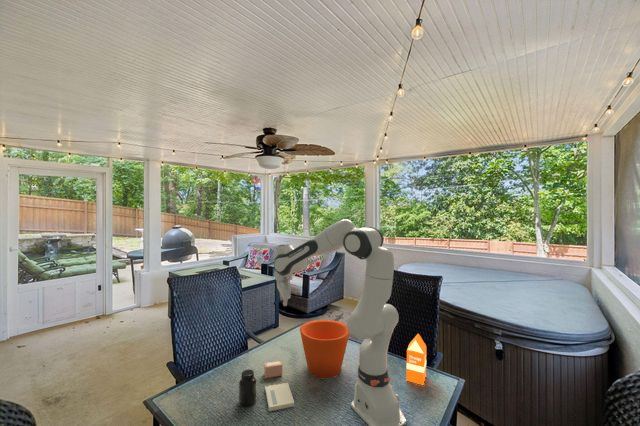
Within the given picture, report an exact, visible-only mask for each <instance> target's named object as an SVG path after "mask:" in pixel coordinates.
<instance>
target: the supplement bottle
mask: <svg viewBox="0 0 640 426" xmlns="http://www.w3.org/2000/svg"><path fill="white" fill-rule="evenodd" d="M254 374H255V373H254V370H253V369H245V370H242V372H241V378H240V380H239V381H238V404H239V406H241V407H242V408H249V407H252V406H254V405H255V404H256V402H257V379H256V377H255V375H254Z"/></svg>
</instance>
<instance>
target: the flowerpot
mask: <svg viewBox="0 0 640 426" xmlns="http://www.w3.org/2000/svg"><path fill="white" fill-rule="evenodd" d="M299 333H300V338H301V342H302V346H303V347H302V348H303V352H304V355H305V361H306V365H307V370H308V373H309V374H310V375H311V376H313V377H314V376H315V378H317V379H322V378H323V380H325V379H326V380H327V379H333V378H335V377H337V376H339V375H340V373H341V369H342V366H343V363H344V362H343V361H344V358H345V354H346V348H347V345H348V342H349V338H350V333H349V331H348V329H347V324H346V323H343V322H342V321H337V320H333V319H316V320H314V319H313V320H311V321H307V322H305V323H303V324H302V325H301V326H300V327H299Z"/></svg>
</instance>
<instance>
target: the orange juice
mask: <svg viewBox="0 0 640 426" xmlns="http://www.w3.org/2000/svg"><path fill="white" fill-rule="evenodd" d="M425 377H426V378H427V345H426V343H425V342H424V340H423V338H422V336H421V335H420V334H419V333H417V334H416V335H415V336H414V338H413V339H412V340H411V341H410V342H409V344H408V347H407V349H406V381H410V382H414V383H417V384H421V385H424V386H425V383H424V381H425V382H426V379H425ZM410 382H409V383H410ZM417 384H416V385H417Z"/></svg>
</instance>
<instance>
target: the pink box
mask: <svg viewBox="0 0 640 426" xmlns="http://www.w3.org/2000/svg"><path fill="white" fill-rule="evenodd" d="M263 365H264V366H263V367H264V369H263V372H264V373H263V374H264V379H269V378H275V377H280V376H283V362H282V360H274V361H269V362H264V364H263Z"/></svg>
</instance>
